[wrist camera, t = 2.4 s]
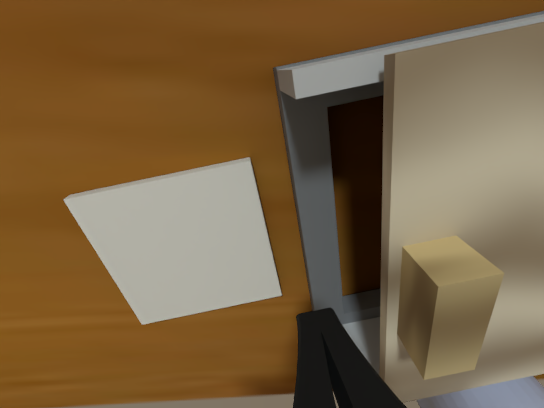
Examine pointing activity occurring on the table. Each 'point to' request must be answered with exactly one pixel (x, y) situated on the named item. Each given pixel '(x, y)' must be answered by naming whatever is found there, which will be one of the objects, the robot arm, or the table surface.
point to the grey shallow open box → (318, 167)
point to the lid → (463, 214)
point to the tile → (182, 240)
